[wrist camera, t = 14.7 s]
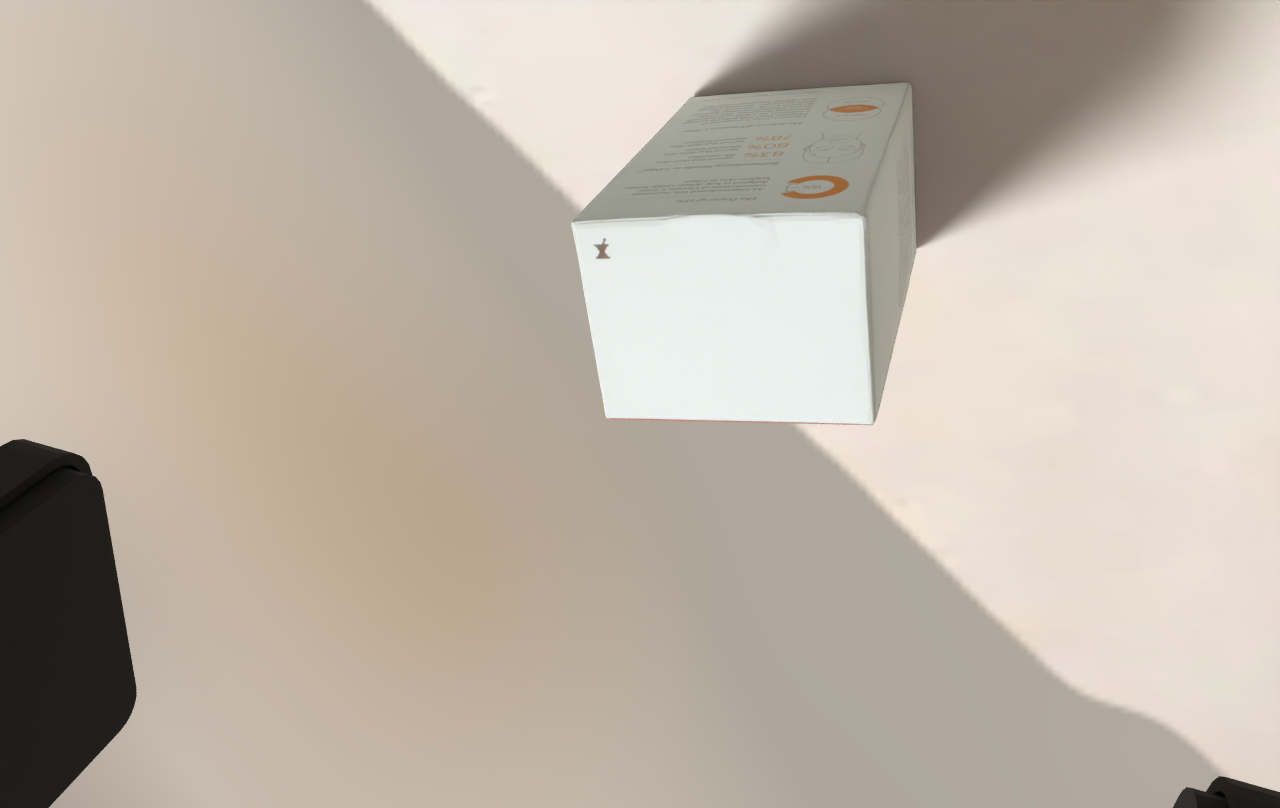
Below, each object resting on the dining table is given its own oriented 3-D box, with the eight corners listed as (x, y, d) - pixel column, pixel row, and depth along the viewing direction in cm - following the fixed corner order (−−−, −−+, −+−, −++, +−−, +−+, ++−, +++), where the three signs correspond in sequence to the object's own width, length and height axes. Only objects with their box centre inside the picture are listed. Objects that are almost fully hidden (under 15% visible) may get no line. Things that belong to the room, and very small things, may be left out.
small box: (706, 258, 46) (598, 423, 35) (687, 93, 43) (563, 217, 32) (922, 254, 43) (878, 431, 32) (917, 78, 40) (866, 207, 29)
